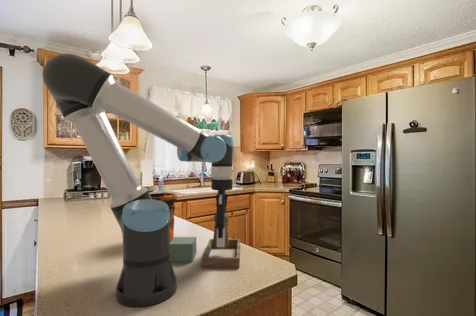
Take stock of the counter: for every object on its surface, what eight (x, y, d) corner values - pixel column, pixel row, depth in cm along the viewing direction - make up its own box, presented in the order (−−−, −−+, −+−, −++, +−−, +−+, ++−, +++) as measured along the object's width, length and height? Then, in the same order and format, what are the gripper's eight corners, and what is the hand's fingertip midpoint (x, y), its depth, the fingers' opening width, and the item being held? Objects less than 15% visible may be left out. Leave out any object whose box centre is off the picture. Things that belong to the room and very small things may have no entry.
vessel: (170, 247, 104) (168, 196, 105) (136, 247, 107) (134, 197, 107) (183, 237, 119) (182, 191, 119) (153, 236, 121) (151, 192, 121)
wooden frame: (239, 267, 85) (239, 258, 85) (201, 267, 86) (201, 258, 85) (240, 246, 105) (240, 239, 105) (209, 246, 106) (209, 239, 105)
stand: (192, 261, 91) (192, 244, 91) (168, 261, 91) (168, 244, 91) (196, 253, 99) (196, 236, 99) (174, 253, 99) (174, 237, 99)
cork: (220, 240, 99) (220, 211, 99) (232, 244, 96) (233, 213, 96) (208, 244, 95) (209, 213, 95) (221, 248, 91) (221, 216, 91)
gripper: (231, 180, 86) (230, 253, 86) (233, 176, 105) (233, 236, 105) (207, 180, 86) (207, 252, 86) (214, 176, 105) (213, 235, 105)
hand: (221, 243), depth 95 cm, fingers closed on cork, 6 cm apart
